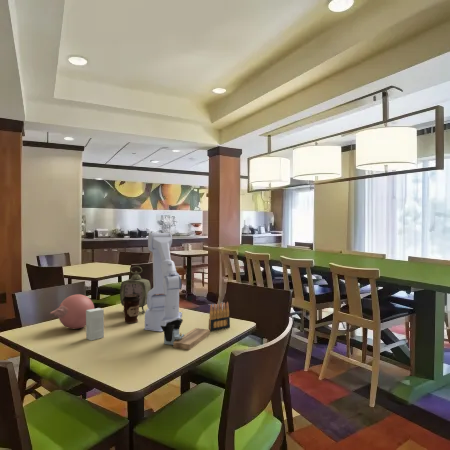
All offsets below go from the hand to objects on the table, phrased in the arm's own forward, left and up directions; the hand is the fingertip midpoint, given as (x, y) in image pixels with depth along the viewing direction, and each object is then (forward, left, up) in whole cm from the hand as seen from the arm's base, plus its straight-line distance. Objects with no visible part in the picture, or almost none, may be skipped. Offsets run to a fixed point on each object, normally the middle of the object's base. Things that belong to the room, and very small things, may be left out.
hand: (171, 339), depth 142 cm
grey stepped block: (+1, 0, -1) cm, 2 cm away
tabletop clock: (-42, +37, -2) cm, 56 cm away
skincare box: (-33, -6, -2) cm, 34 cm away
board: (+7, +6, -2) cm, 9 cm away
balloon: (-51, 0, -2) cm, 51 cm away
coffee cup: (-33, +20, -2) cm, 39 cm away
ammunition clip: (+11, +25, -2) cm, 27 cm away
